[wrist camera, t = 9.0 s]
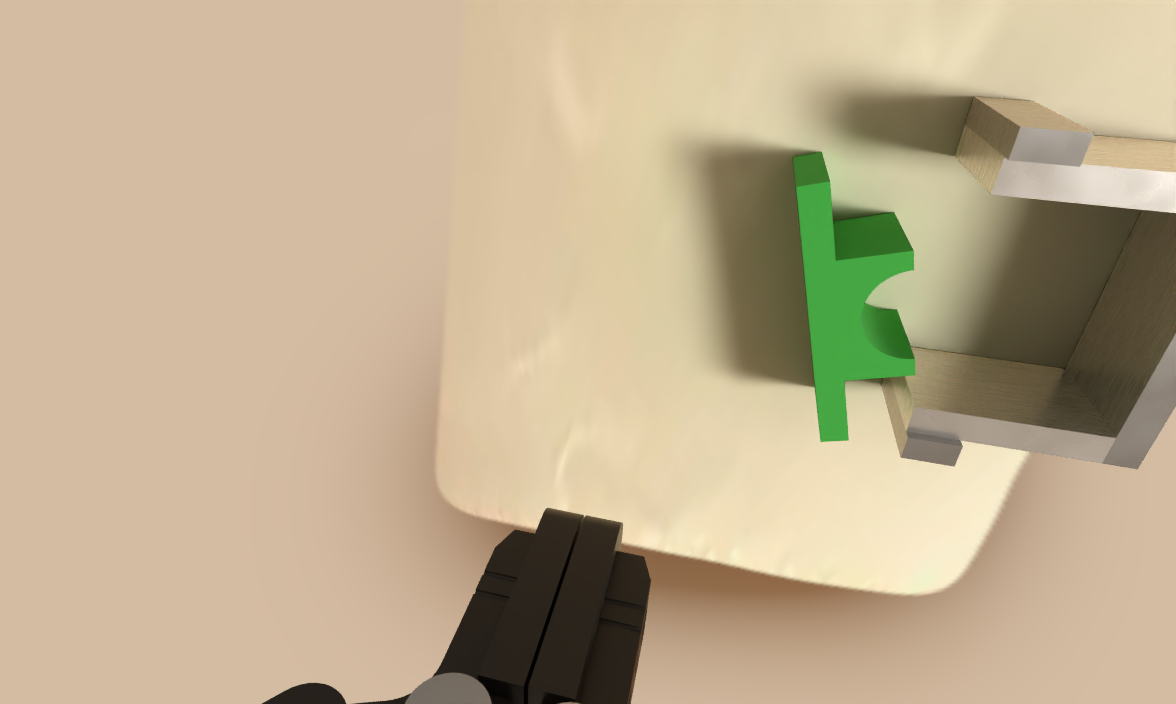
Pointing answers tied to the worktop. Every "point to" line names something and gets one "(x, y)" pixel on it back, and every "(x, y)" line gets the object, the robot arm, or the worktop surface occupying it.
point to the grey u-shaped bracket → (1113, 333)
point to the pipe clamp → (847, 295)
